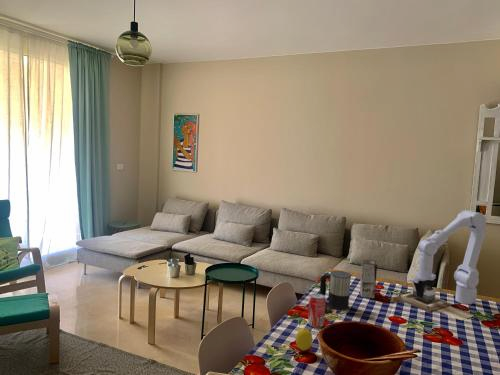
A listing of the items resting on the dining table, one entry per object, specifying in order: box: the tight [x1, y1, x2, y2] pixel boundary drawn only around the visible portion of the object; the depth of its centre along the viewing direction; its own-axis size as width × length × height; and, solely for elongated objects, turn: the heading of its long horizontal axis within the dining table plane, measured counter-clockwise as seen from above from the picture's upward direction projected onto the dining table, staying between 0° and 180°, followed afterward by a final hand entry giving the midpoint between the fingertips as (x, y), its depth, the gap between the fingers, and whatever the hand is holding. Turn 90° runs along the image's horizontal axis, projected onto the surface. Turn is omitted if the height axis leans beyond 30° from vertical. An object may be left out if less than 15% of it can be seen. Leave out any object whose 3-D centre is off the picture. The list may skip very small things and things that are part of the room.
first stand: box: [436, 305, 476, 321], centre depth 171 cm, size 11×11×2 cm
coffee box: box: [359, 259, 378, 299], centre depth 193 cm, size 9×6×16 cm
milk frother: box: [319, 270, 352, 313], centre depth 174 cm, size 14×16×15 cm
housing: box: [412, 284, 437, 303], centre depth 183 cm, size 5×8×6 cm, turn 34°
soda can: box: [307, 292, 327, 329], centre depth 155 cm, size 6×6×12 cm
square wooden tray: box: [392, 291, 453, 313], centre depth 183 cm, size 18×18×3 cm
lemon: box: [295, 327, 313, 352], centre depth 135 cm, size 6×6×8 cm
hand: (423, 295), depth 183 cm, fingers closed on housing, 5 cm apart
